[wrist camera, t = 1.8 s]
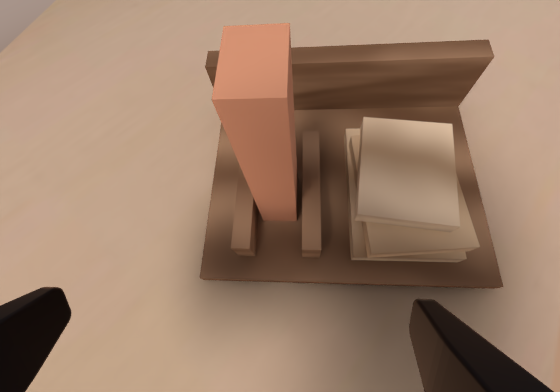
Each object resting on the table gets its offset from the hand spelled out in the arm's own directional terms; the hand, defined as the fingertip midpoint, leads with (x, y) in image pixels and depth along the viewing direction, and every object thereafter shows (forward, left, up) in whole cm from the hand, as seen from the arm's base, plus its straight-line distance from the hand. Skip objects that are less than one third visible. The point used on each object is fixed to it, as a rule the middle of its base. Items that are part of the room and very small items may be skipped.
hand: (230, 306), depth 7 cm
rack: (+6, -9, -14) cm, 18 cm away
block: (+7, -4, -13) cm, 15 cm away
